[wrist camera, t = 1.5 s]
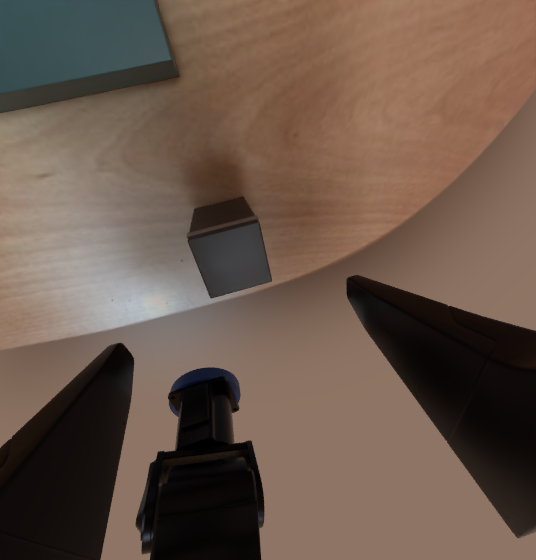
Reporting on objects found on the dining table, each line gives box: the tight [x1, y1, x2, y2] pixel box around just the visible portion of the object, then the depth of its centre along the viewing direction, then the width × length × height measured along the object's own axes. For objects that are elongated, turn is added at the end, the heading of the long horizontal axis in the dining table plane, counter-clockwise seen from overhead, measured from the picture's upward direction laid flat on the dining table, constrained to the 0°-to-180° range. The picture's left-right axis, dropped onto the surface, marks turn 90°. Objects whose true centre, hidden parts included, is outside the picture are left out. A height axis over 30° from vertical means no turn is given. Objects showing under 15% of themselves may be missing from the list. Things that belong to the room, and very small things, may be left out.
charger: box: [187, 197, 272, 298], centre depth 17 cm, size 4×4×7 cm
